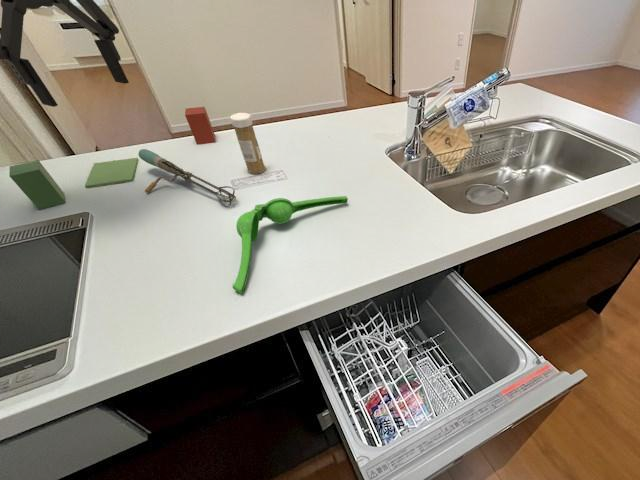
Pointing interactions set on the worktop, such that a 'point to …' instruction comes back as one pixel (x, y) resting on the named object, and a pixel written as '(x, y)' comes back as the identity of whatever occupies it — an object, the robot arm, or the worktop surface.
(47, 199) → the green block
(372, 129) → the worktop surface
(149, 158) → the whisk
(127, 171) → the sage mat
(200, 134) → the red block
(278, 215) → the lime squeezer
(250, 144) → the sprinkles bottle
